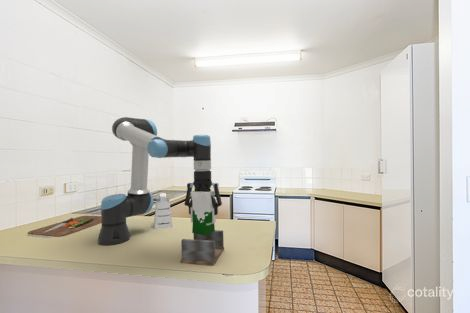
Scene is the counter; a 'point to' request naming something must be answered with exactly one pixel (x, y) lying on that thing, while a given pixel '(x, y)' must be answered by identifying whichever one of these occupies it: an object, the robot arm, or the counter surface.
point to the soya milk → (202, 212)
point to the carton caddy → (203, 248)
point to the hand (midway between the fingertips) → (203, 221)
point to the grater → (163, 212)
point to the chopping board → (66, 227)
